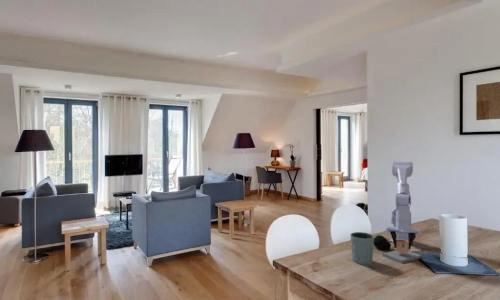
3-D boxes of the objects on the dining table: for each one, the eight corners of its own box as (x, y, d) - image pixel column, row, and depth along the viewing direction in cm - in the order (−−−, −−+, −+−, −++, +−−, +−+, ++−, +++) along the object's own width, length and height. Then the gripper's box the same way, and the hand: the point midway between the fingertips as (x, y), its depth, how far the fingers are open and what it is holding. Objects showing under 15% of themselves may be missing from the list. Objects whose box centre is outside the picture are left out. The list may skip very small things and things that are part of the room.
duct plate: (402, 251, 158) (402, 240, 158) (421, 257, 149) (421, 246, 149) (382, 255, 151) (383, 244, 151) (401, 263, 142) (401, 251, 142)
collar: (395, 248, 153) (395, 238, 153) (407, 249, 152) (407, 239, 152) (396, 252, 148) (397, 242, 147) (409, 253, 146) (409, 243, 146)
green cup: (375, 266, 139) (376, 239, 138) (351, 264, 141) (351, 237, 140) (371, 258, 149) (371, 232, 148) (348, 256, 151) (349, 231, 150)
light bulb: (400, 240, 156) (376, 230, 164) (395, 250, 153) (371, 240, 160) (400, 249, 160) (376, 238, 168) (394, 259, 157) (371, 248, 164)
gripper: (386, 220, 148) (386, 249, 148) (421, 222, 144) (421, 252, 144) (385, 216, 155) (384, 244, 155) (418, 219, 150) (417, 247, 151)
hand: (402, 248), depth 150 cm, fingers closed on collar, 5 cm apart
